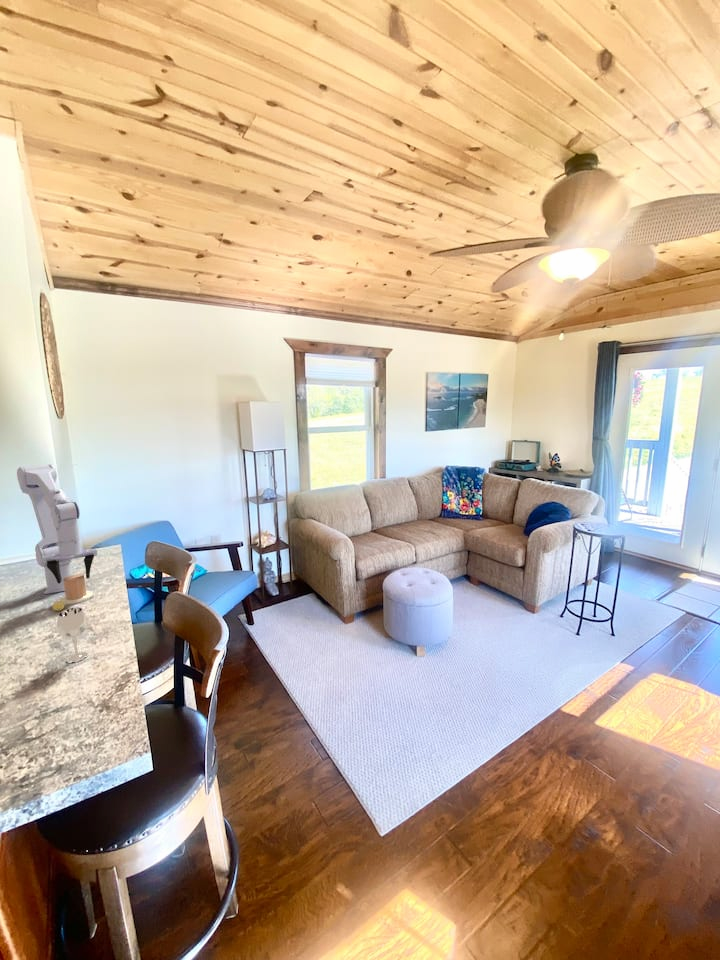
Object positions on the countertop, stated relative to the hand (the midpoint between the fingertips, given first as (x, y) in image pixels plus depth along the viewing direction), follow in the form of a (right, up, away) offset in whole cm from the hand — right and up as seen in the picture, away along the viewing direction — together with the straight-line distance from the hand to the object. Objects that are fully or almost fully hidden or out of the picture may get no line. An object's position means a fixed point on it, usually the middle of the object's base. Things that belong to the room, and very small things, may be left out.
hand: (74, 579), depth 130 cm
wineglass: (+24, -11, -33) cm, 42 cm away
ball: (+1, -8, -7) cm, 11 cm away
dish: (0, -6, +1) cm, 7 cm away
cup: (0, -6, +1) cm, 6 cm away
